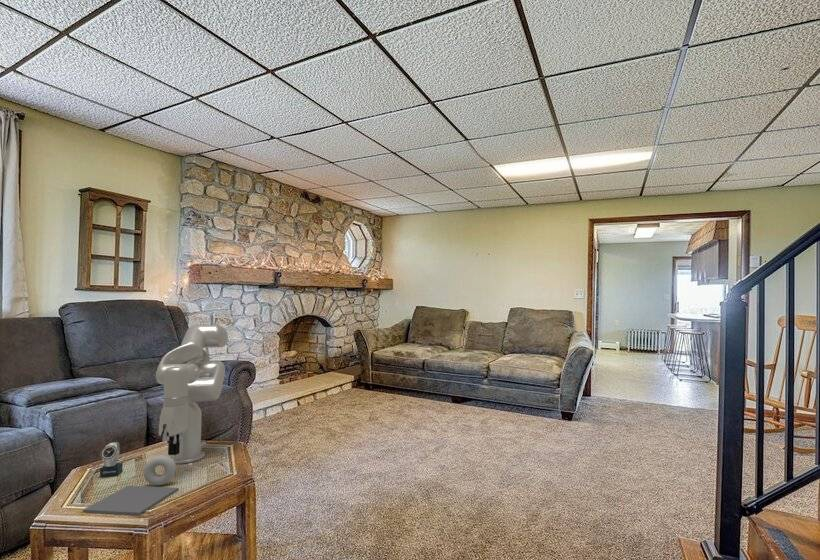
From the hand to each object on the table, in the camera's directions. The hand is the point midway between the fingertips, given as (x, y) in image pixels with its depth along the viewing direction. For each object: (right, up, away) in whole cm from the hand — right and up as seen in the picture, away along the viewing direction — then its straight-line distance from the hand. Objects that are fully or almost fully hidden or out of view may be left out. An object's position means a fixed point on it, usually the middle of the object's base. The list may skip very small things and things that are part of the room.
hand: (173, 454), depth 149 cm
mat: (-2, -7, -19) cm, 20 cm away
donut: (-1, -8, -7) cm, 11 cm away
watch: (-24, -9, +2) cm, 25 cm away
